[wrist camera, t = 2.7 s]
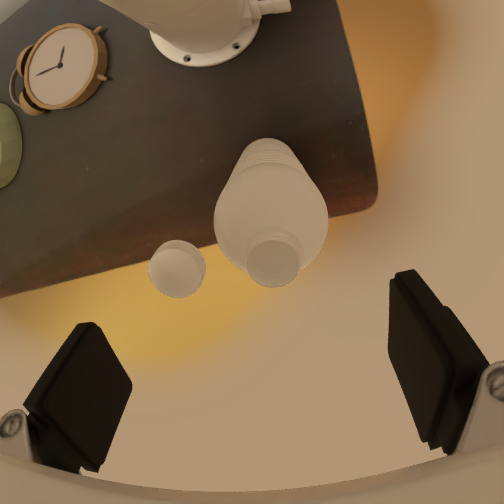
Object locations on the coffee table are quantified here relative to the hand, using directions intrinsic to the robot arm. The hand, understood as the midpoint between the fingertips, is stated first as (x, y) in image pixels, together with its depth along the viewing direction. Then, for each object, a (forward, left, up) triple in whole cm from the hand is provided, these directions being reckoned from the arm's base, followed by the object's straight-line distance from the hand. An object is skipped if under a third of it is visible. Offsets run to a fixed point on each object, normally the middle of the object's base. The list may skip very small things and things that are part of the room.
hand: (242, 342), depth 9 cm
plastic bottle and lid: (0, 0, -30) cm, 30 cm away
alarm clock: (+22, -20, -30) cm, 42 cm away
